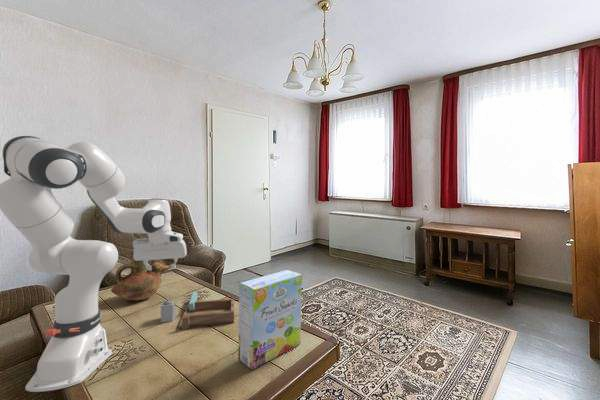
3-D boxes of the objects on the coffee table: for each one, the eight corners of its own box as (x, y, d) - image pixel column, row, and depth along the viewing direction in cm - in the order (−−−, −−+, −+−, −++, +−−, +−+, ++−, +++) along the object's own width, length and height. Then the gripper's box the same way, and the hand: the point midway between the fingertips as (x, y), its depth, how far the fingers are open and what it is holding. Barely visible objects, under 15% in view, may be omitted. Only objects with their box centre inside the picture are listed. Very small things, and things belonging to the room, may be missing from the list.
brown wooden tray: (233, 324, 116) (233, 313, 116) (178, 330, 111) (178, 319, 111) (234, 296, 145) (234, 288, 144) (190, 300, 140) (190, 291, 140)
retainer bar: (193, 310, 126) (192, 303, 126) (189, 310, 126) (189, 303, 126) (197, 298, 140) (197, 291, 140) (193, 298, 139) (193, 292, 139)
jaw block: (172, 321, 119) (172, 303, 118) (161, 322, 118) (160, 304, 117) (175, 316, 123) (174, 299, 123) (163, 317, 122) (163, 300, 122)
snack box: (253, 372, 86) (252, 289, 85) (237, 360, 92) (236, 282, 91) (302, 344, 102) (302, 273, 100) (286, 335, 108) (285, 268, 106)
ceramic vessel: (173, 298, 142) (171, 249, 141) (111, 310, 129) (109, 256, 127) (168, 288, 157) (166, 243, 156) (111, 298, 143) (110, 248, 142)
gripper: (129, 239, 114) (131, 273, 115) (184, 237, 118) (185, 269, 119) (135, 236, 120) (136, 268, 121) (186, 234, 124) (187, 265, 125)
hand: (161, 269), depth 120 cm, fingers open, 8 cm apart
